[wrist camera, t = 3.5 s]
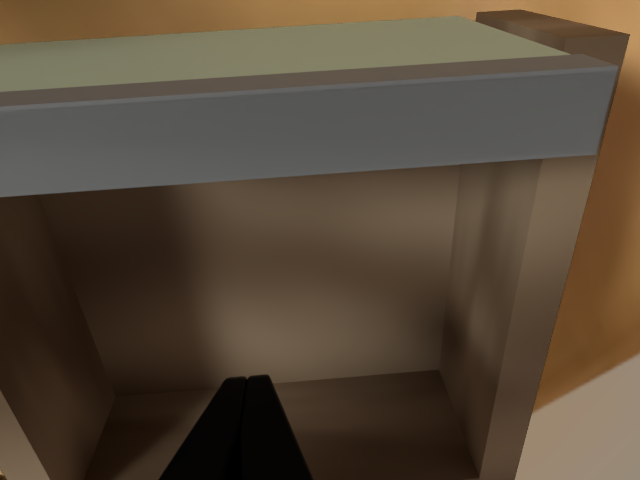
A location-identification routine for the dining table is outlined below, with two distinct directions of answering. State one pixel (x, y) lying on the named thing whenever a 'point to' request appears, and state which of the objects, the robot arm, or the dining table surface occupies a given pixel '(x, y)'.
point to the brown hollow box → (295, 309)
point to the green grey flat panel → (289, 104)
